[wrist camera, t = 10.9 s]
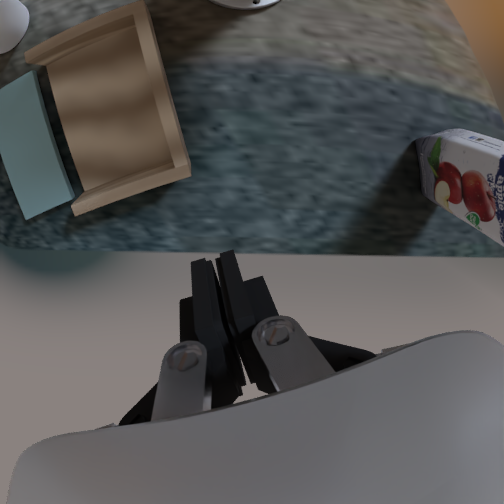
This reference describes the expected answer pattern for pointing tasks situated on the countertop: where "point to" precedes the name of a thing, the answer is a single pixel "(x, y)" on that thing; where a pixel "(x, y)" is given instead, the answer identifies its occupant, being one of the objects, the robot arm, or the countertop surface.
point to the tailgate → (31, 148)
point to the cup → (12, 23)
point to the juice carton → (465, 177)
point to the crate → (114, 105)
